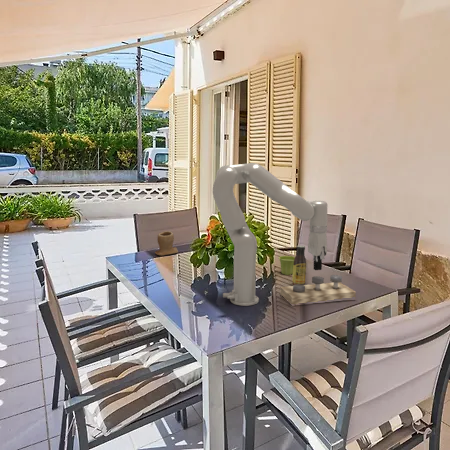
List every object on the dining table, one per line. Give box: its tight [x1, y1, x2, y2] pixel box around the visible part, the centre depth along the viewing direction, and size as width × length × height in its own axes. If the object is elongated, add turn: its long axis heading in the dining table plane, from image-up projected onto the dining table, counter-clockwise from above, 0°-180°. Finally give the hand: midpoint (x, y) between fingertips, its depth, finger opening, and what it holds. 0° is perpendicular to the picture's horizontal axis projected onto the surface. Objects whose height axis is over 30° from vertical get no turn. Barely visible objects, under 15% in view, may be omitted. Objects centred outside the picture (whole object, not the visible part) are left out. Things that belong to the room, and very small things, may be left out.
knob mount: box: [279, 282, 357, 304], centre depth 182 cm, size 30×14×4 cm, turn 103°
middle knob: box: [311, 275, 325, 291], centre depth 182 cm, size 5×5×6 cm
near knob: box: [292, 284, 305, 293], centre depth 180 cm, size 5×5×6 cm
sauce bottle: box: [291, 245, 307, 286], centre depth 198 cm, size 6×6×20 cm
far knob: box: [329, 274, 343, 289], centre depth 184 cm, size 5×5×6 cm
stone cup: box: [154, 230, 179, 257], centre depth 259 cm, size 15×12×15 cm
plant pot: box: [278, 255, 296, 276], centre depth 219 cm, size 9×9×9 cm
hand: (317, 269), depth 180 cm, fingers closed
